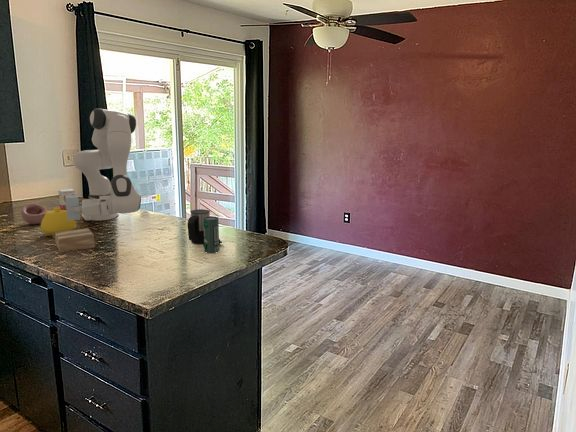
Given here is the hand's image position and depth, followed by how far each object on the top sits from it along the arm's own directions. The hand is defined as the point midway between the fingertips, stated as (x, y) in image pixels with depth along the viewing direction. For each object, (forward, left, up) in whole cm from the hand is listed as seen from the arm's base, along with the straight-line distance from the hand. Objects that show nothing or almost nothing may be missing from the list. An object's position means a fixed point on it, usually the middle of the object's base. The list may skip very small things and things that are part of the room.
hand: (70, 207), depth 193 cm
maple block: (+1, 0, -18) cm, 18 cm away
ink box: (-87, +26, -18) cm, 92 cm away
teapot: (-26, +1, -18) cm, 31 cm away
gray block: (0, +1, -5) cm, 5 cm away
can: (+49, +41, -18) cm, 66 cm away
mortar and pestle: (-56, -1, -18) cm, 59 cm away
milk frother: (+37, +46, -18) cm, 62 cm away
